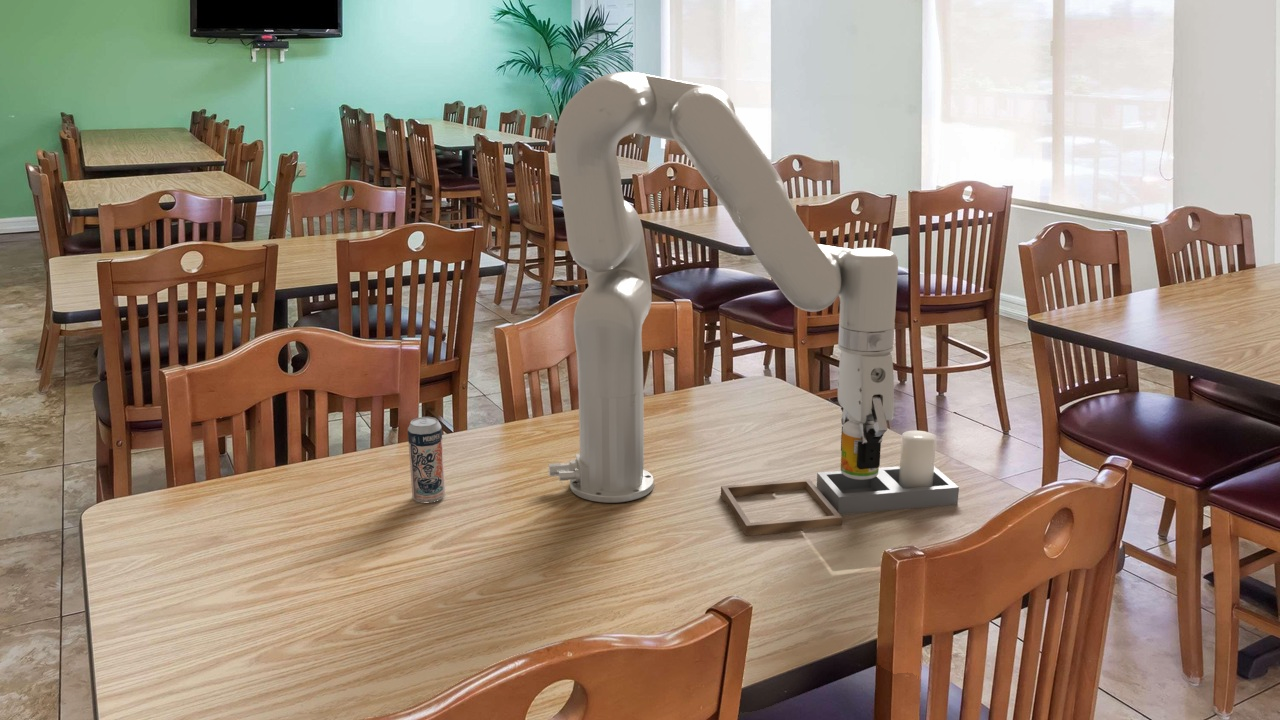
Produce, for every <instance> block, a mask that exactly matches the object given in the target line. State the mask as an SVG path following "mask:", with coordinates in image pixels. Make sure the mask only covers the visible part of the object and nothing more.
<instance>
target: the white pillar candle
mask: <svg viewBox="0 0 1280 720" xmlns="http://www.w3.org/2000/svg"><path fill="white" fill-rule="evenodd" d="M900 442H901V443H900V445H901V446H900V460H899V461H900V462H899V466H900V471H899V485H900V486H901V487H902V488H903V489H908V488H920V487H932V486H933V473H934V466H935V458H936V447H937V436H936V434H934V433H931V432H929V431H925V430H907V431H904V432H903V433H902V434H901V441H900Z"/></svg>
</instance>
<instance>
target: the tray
mask: <svg viewBox="0 0 1280 720" xmlns="http://www.w3.org/2000/svg"><path fill="white" fill-rule="evenodd" d="M804 489H805V490H806V491H807V492H808V494H810V496H811V497H812V498H813V499H814V500H815V501H816V503H817V504H818V505H819V507H821V509H822V510H823V512H824V513H826V515H825V516H814V517H813V516H812V517H802V518H801V517H800V518H790V519H779V520H778V519H777V520H767V521H755V522H751V521H750V520H749V518H748V516H747V515H746V513H745V512H744V510H743V509H742V507H741V506H740V504H739V503H738V501H737V500H736V498H735V497H744V496H745V497H746V496H759V495H769V494H770V495H771V494H775V492H780V491H781V492H782V491H783V492H784V491H791V490H792V491H793V490H804ZM720 496H721V498H722V500H723V501H724V503H725V504H726V506H727V508H728V509H729V511H730V512H731V514H732V515H733V518H734V519H735V520H736V521H737V523H738V525H739V526H740V528H741V529H742V532H743V533H744V535H745V536H747V537H748V536H749V537H750V536H760V535H761V536H762V535H770V534H771V535H773V534H782V533H783V534H784V533H793V532H803V531H804V530H803V529H812V528H813V529H814V528H824V527H825V528H826V527H834V526H835V527H836V526H837V527H838V526H843V516H842V514H839V513H838V512H837V511H836V509H835V508H834V507H833V506H832V505H831V504H830V502H829V501H828V500H827V499H826V498H825V497H824V495H823V494H822V493H821V492H820V491H819V490H818V488H817V485H815V484H814V483H813V481H812V480H811V479H810V478H806V479H805V478H804V479H793V480H791V479H790V480H781V481H780V480H779V481H769V482H767V481H766V482H756V483H755V482H754V483H753V482H752V483H742V484H731V485H721V486H720Z"/></svg>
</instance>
